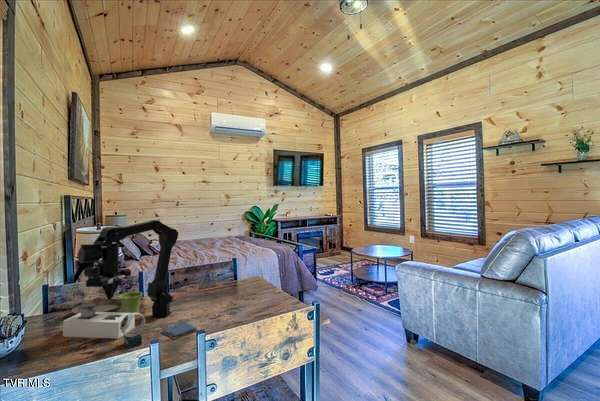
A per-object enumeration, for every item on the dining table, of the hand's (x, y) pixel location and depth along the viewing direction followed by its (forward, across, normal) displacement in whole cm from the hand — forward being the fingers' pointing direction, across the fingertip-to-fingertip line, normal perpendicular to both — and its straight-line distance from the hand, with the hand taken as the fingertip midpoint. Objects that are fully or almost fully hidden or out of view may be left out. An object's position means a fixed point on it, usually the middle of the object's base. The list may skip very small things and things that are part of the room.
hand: (109, 299), depth 121 cm
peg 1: (+9, 0, -9) cm, 13 cm away
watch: (+13, +9, +15) cm, 22 cm away
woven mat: (+14, -3, +27) cm, 31 cm away
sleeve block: (+13, 0, -4) cm, 14 cm away
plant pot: (+13, -20, -4) cm, 24 cm away
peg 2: (+13, 0, +1) cm, 13 cm away
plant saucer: (+14, -21, -20) cm, 32 cm away
